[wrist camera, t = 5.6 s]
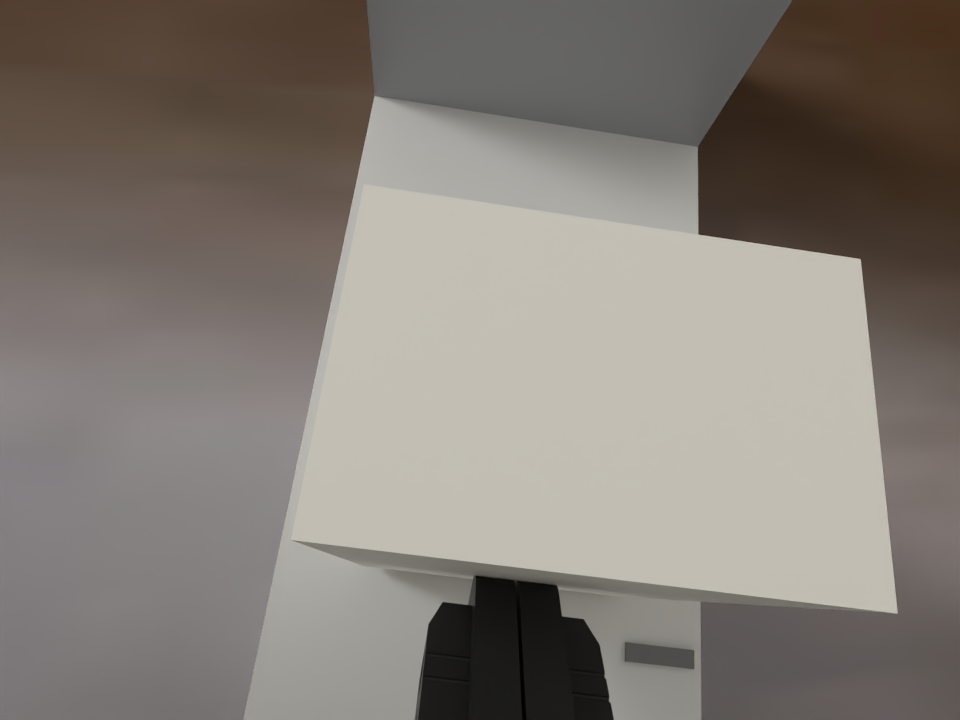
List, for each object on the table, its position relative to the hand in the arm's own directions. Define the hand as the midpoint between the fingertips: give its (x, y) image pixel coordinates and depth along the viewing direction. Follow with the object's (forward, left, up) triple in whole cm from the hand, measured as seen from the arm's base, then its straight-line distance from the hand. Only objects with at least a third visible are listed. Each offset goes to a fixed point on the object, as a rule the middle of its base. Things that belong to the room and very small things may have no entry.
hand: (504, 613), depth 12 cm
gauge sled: (+1, +3, -3) cm, 4 cm away
